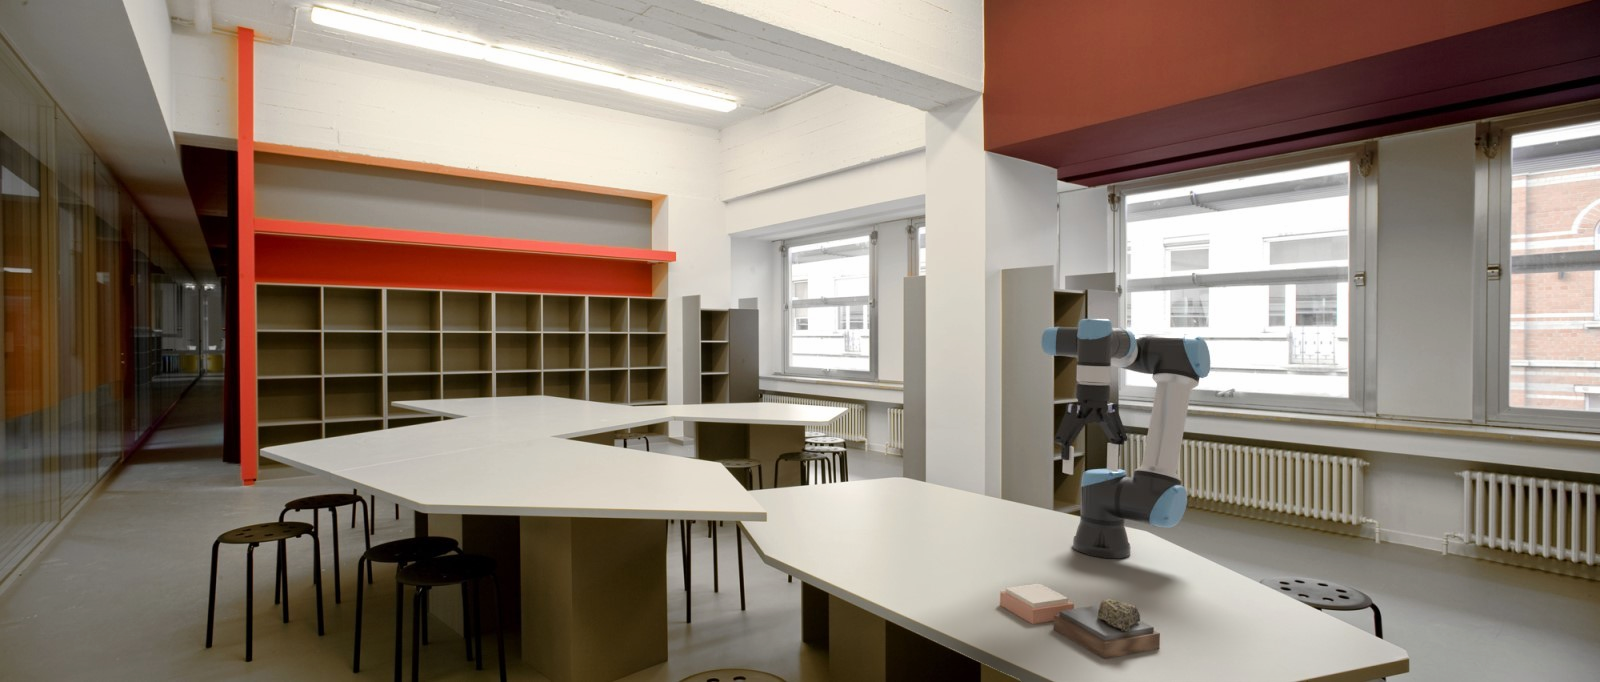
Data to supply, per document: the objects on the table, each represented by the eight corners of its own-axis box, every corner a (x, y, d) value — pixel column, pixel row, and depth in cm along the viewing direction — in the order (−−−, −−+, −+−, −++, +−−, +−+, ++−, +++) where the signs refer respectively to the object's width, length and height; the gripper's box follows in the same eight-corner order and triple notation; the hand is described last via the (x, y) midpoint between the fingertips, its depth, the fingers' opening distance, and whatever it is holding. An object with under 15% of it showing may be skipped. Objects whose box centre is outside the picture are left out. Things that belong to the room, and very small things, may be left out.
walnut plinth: (1105, 620, 154) (1105, 602, 153) (1159, 648, 140) (1160, 628, 140) (1053, 629, 148) (1054, 610, 148) (1104, 658, 135) (1105, 637, 135)
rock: (1090, 623, 142) (1091, 601, 142) (1104, 612, 148) (1105, 590, 148) (1128, 634, 137) (1129, 611, 137) (1140, 622, 143) (1141, 600, 143)
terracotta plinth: (1039, 599, 165) (1039, 581, 165) (1073, 617, 155) (1074, 599, 155) (1000, 604, 161) (1000, 587, 161) (1032, 624, 151) (1033, 605, 151)
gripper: (1120, 381, 178) (1118, 466, 178) (1040, 382, 169) (1037, 471, 169) (1145, 384, 171) (1142, 472, 171) (1062, 385, 162) (1059, 478, 162)
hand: (1090, 472), depth 170 cm, fingers open, 13 cm apart
